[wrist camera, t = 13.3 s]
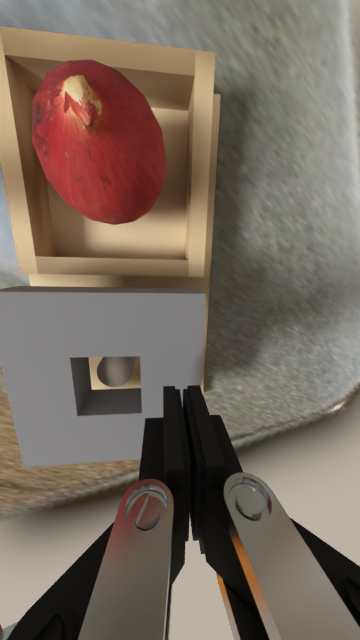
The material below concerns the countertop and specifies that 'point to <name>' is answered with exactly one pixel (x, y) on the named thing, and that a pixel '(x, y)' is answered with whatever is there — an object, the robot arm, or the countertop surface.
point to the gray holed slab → (74, 372)
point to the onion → (98, 142)
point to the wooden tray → (101, 238)
